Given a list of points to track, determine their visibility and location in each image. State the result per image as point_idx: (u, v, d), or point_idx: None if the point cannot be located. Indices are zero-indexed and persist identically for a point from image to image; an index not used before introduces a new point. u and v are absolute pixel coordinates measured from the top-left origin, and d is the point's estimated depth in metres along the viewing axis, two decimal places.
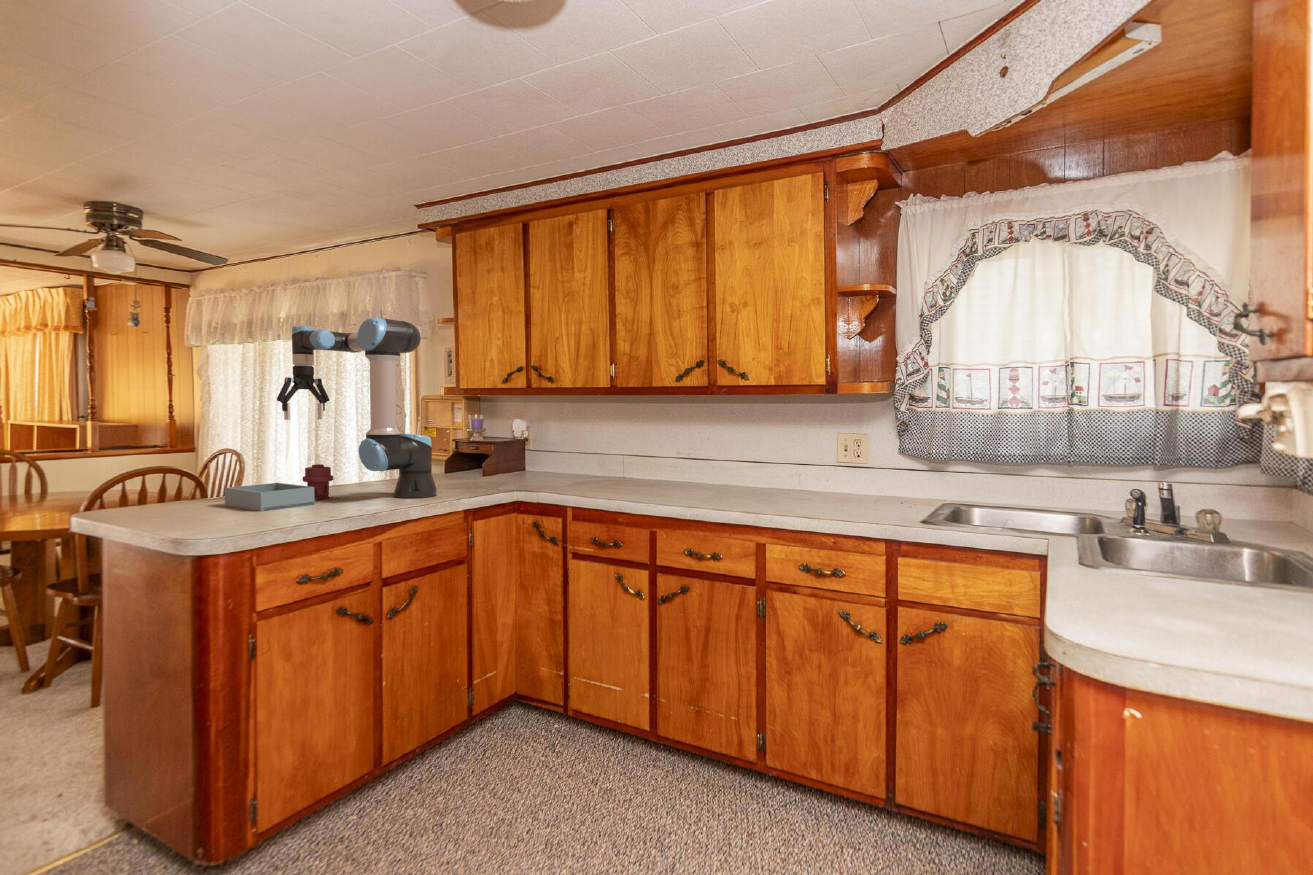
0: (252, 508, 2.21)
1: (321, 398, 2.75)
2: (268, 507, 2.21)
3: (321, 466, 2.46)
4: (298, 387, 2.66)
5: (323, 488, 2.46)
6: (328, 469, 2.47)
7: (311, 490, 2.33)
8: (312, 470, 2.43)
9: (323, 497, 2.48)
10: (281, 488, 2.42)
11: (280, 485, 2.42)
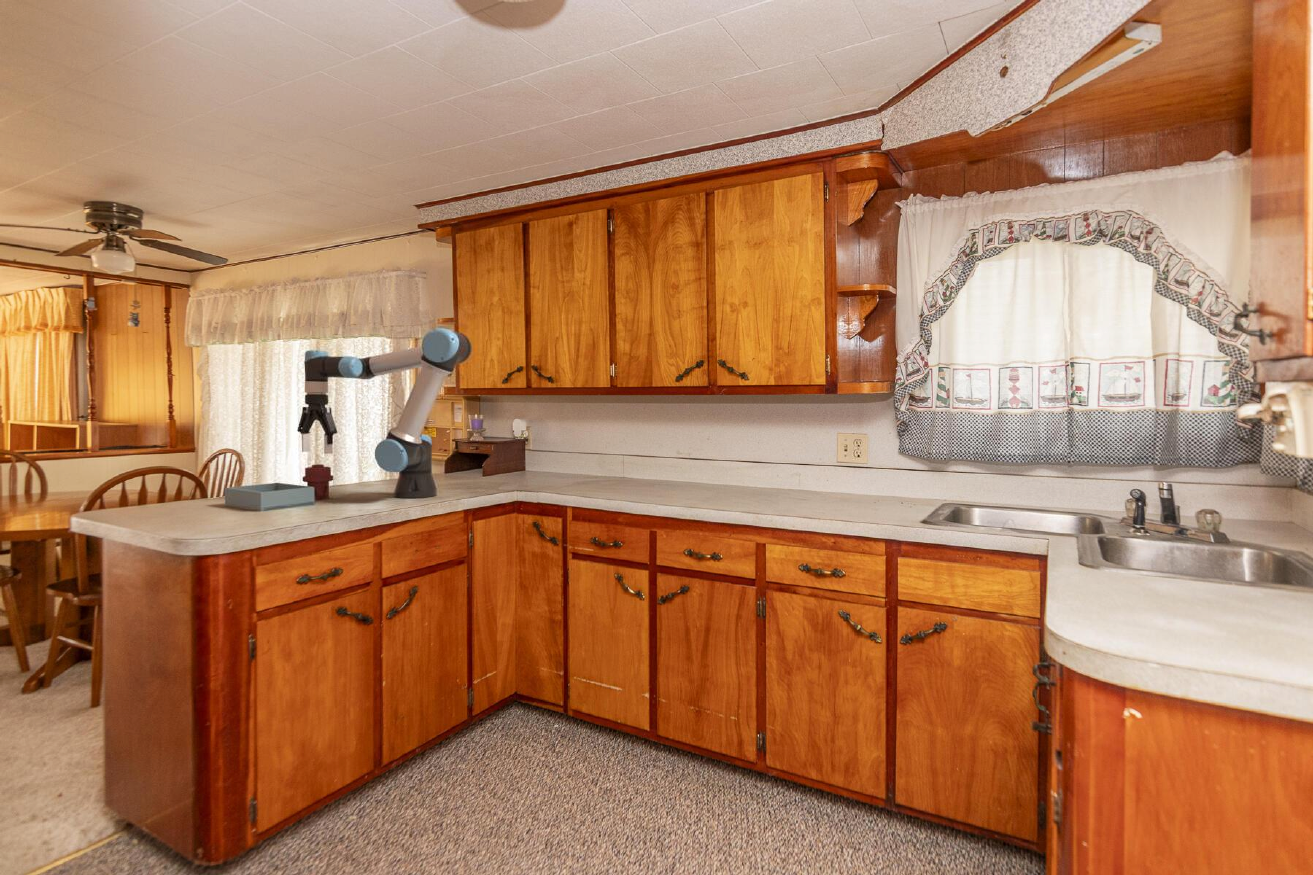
0: (252, 508, 2.21)
1: (324, 430, 2.42)
2: (268, 507, 2.21)
3: (321, 466, 2.46)
4: (307, 417, 2.46)
5: (323, 488, 2.46)
6: (328, 469, 2.47)
7: (311, 490, 2.33)
8: (312, 470, 2.43)
9: (323, 497, 2.48)
10: (281, 488, 2.42)
11: (280, 485, 2.42)
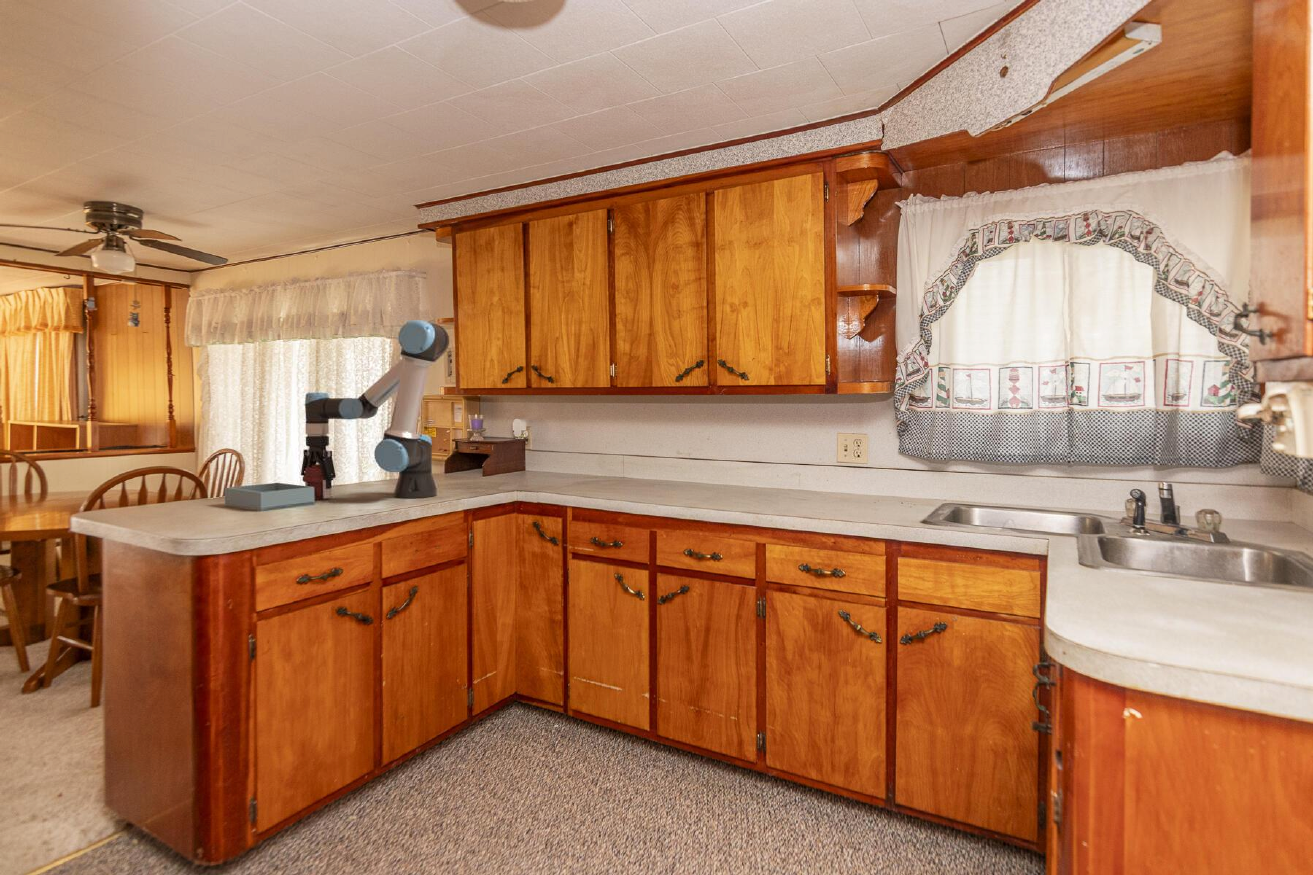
0: (252, 508, 2.21)
1: (323, 474, 2.43)
2: (268, 507, 2.21)
3: None
4: (308, 459, 2.47)
5: (322, 487, 2.46)
6: None
7: (311, 490, 2.33)
8: (312, 470, 2.43)
9: None
10: (281, 488, 2.42)
11: (280, 485, 2.42)
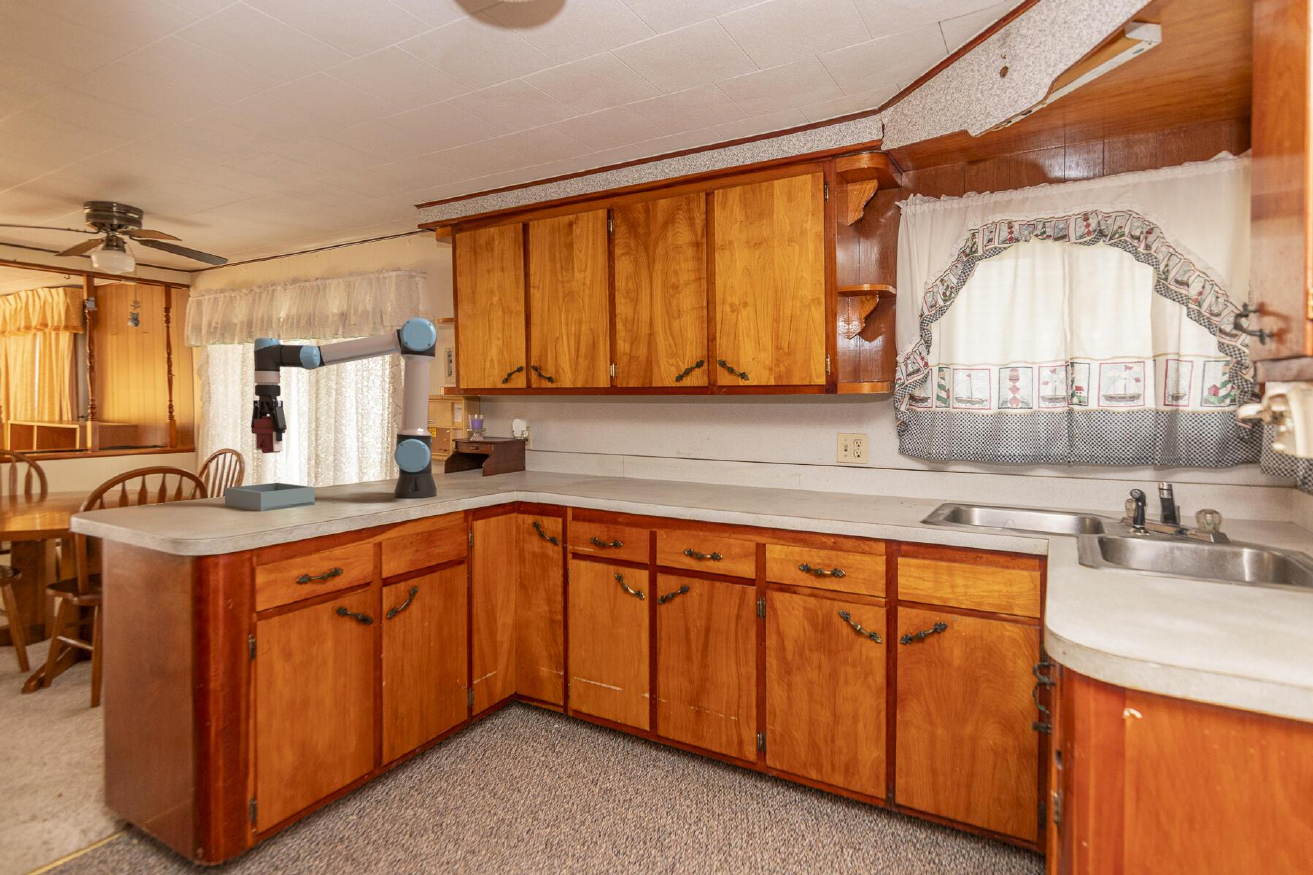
0: (252, 508, 2.21)
1: (273, 425, 2.27)
2: (268, 507, 2.21)
3: None
4: (258, 410, 2.30)
5: None
6: None
7: (311, 490, 2.33)
8: (261, 421, 2.26)
9: (274, 451, 2.31)
10: (281, 488, 2.42)
11: (280, 485, 2.42)
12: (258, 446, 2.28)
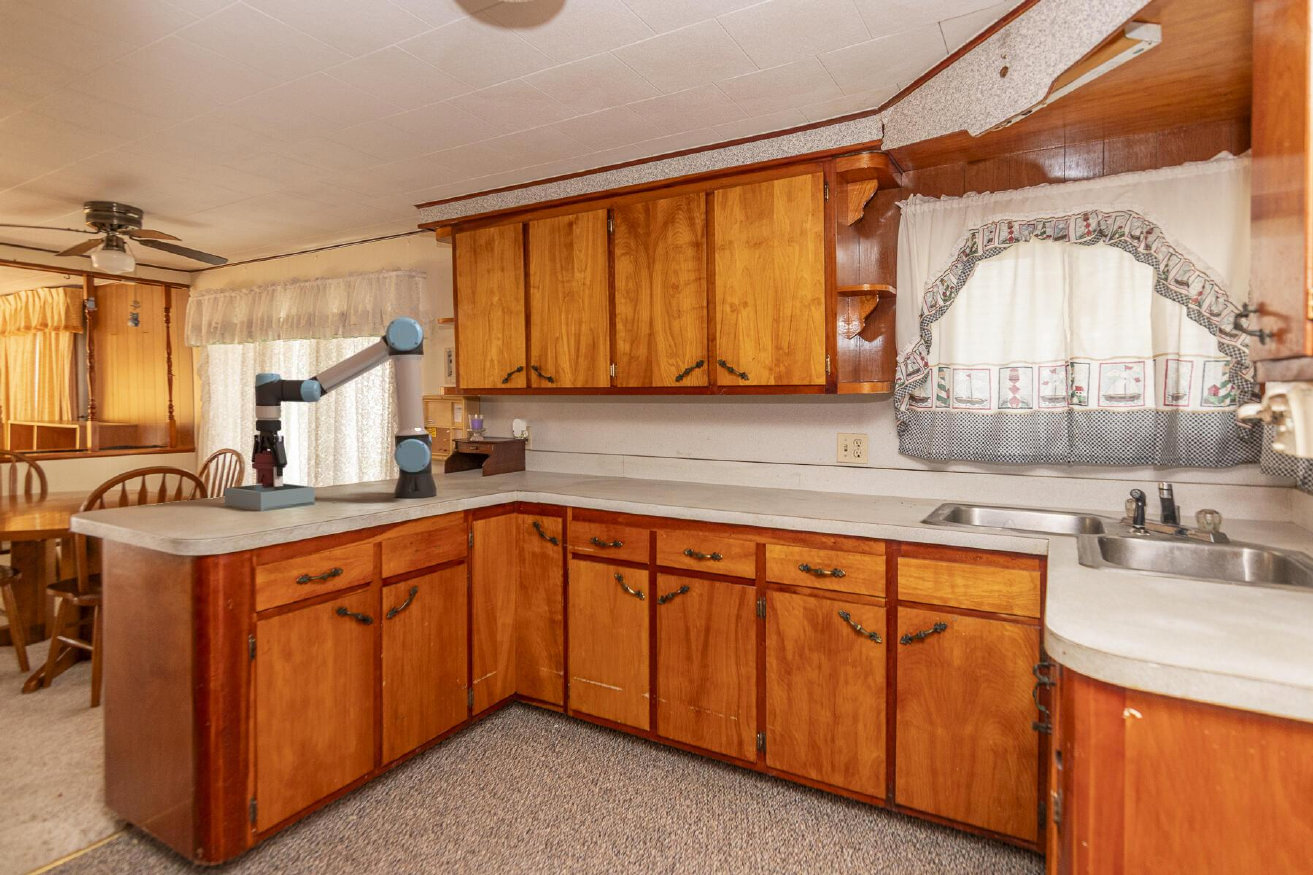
0: (252, 508, 2.21)
1: (274, 460, 2.27)
2: (268, 507, 2.21)
3: None
4: (259, 445, 2.31)
5: None
6: None
7: (311, 490, 2.33)
8: (262, 456, 2.27)
9: None
10: (281, 488, 2.42)
11: None
12: (259, 481, 2.29)
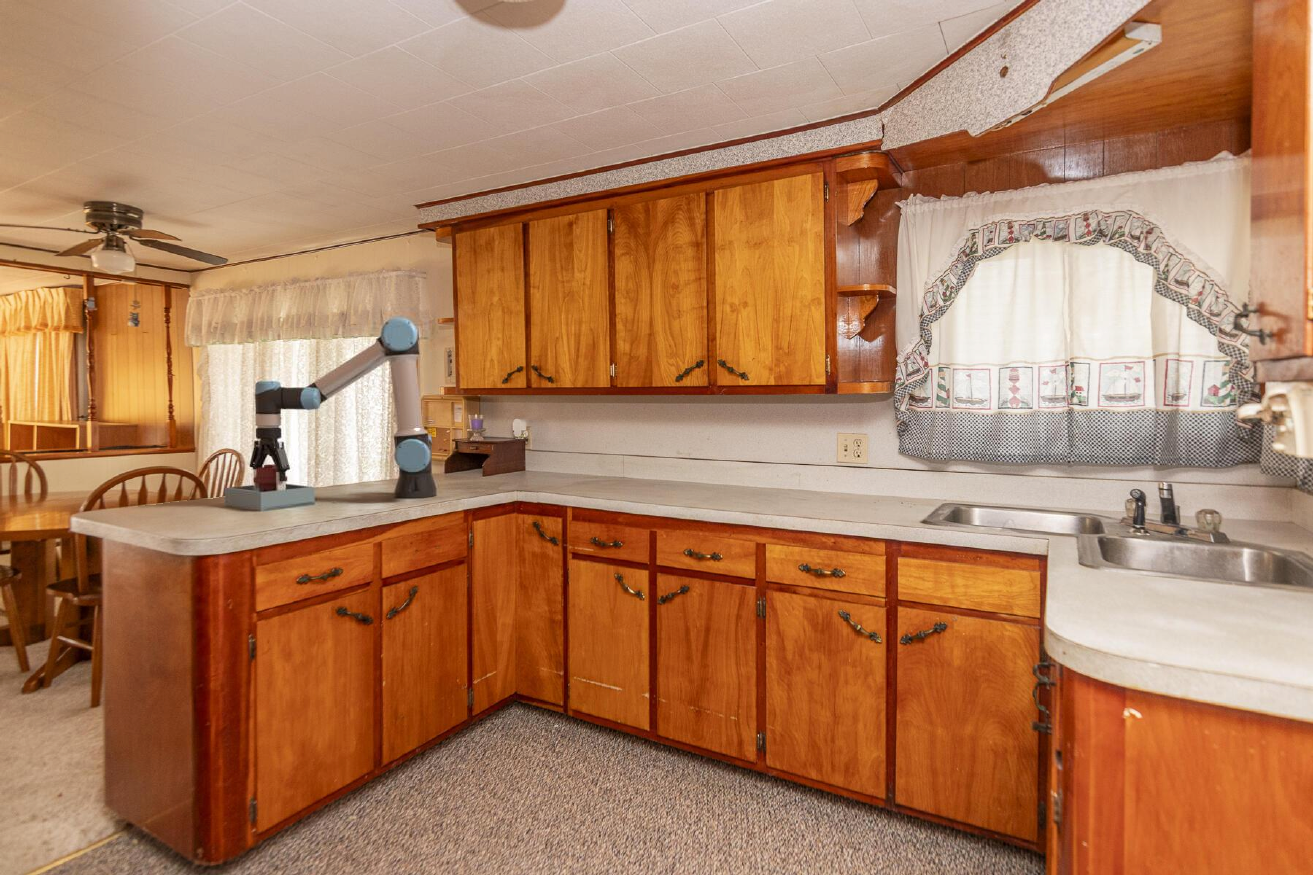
0: (252, 508, 2.21)
1: (276, 466, 2.27)
2: (268, 507, 2.21)
3: (274, 466, 2.30)
4: (258, 452, 2.31)
5: (275, 489, 2.30)
6: None
7: (311, 490, 2.33)
8: (263, 471, 2.27)
9: None
10: None
11: None
12: None
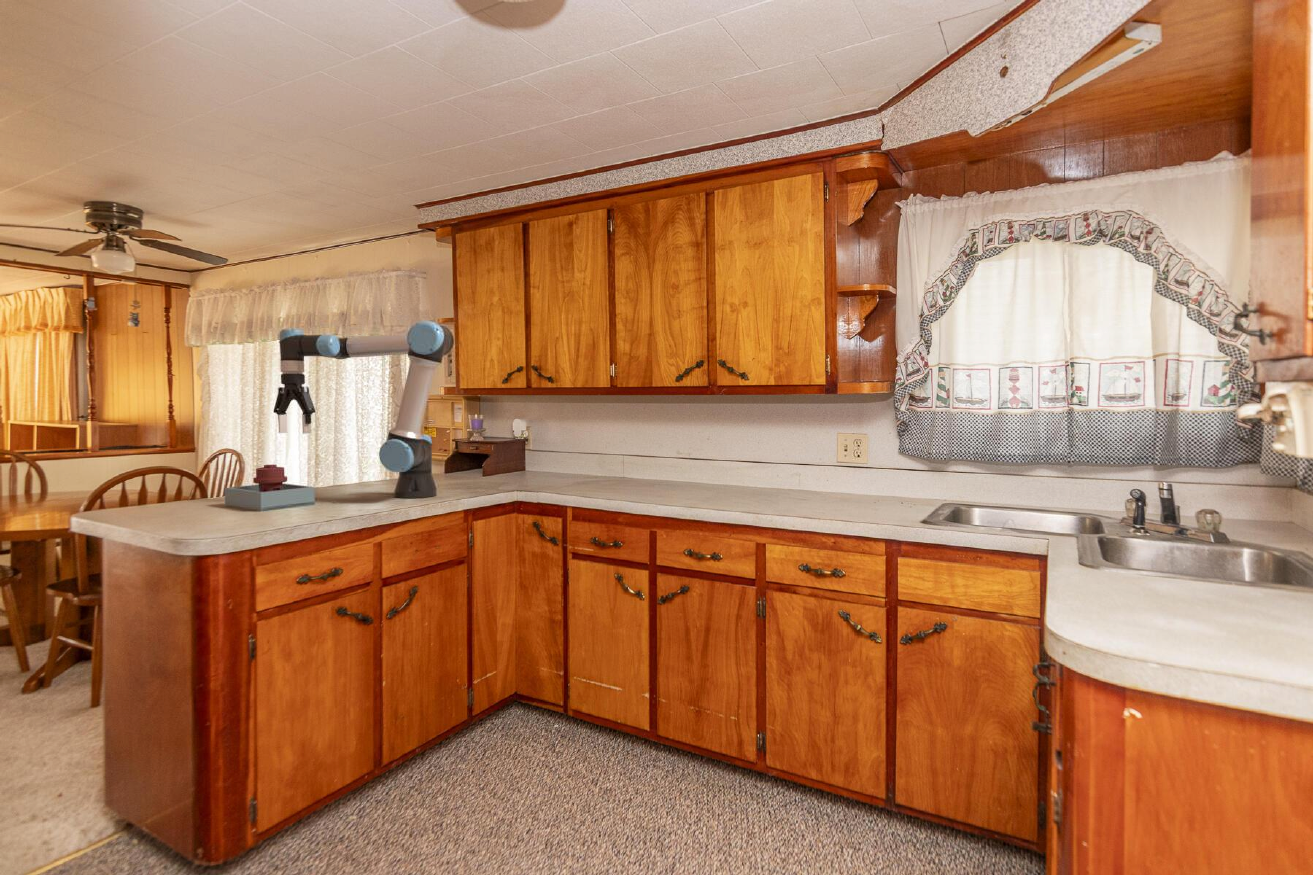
0: (252, 508, 2.21)
1: (302, 409, 2.39)
2: (268, 507, 2.21)
3: (273, 466, 2.30)
4: (283, 397, 2.43)
5: (275, 489, 2.30)
6: (281, 469, 2.31)
7: (311, 490, 2.33)
8: (263, 471, 2.27)
9: None
10: None
11: None
12: None
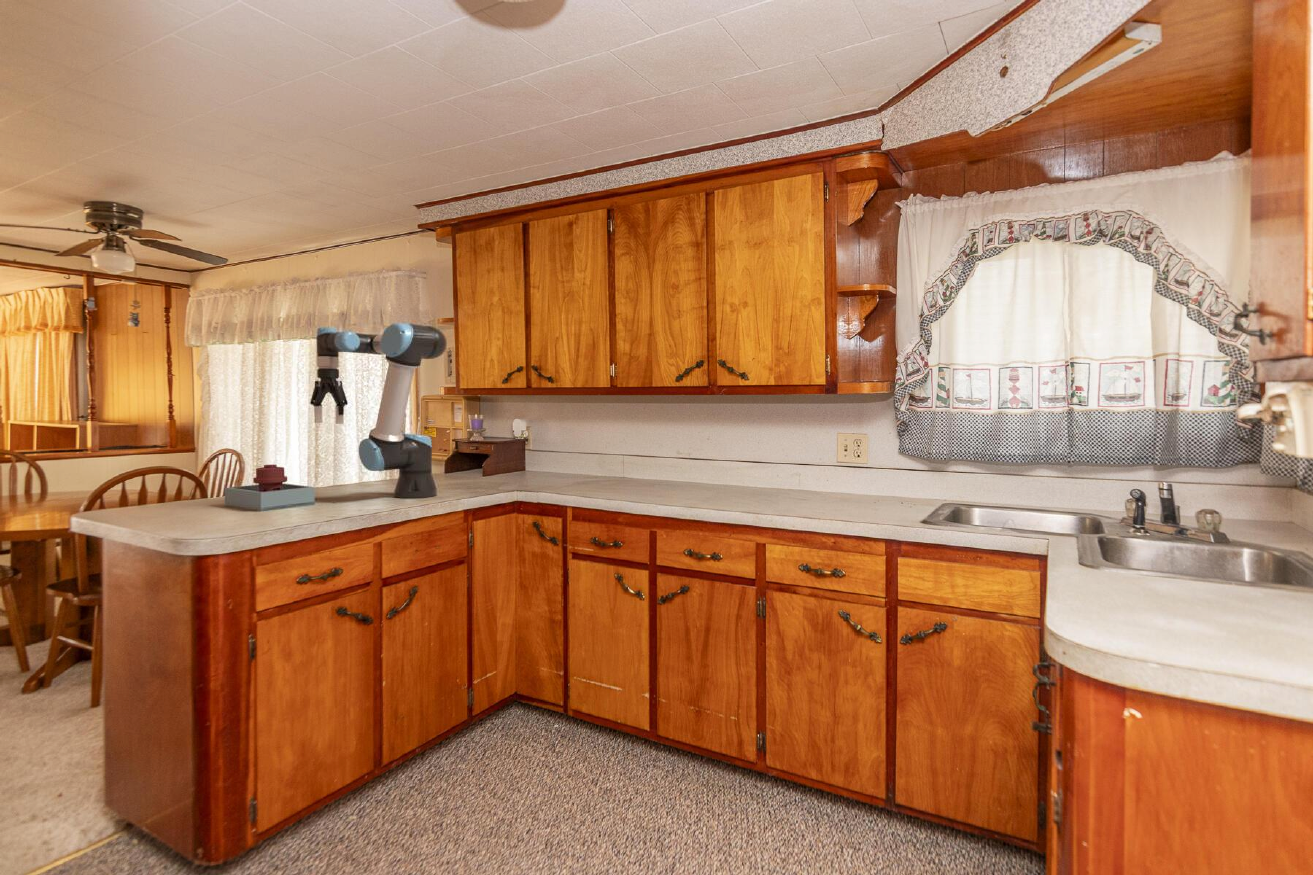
0: (252, 508, 2.21)
1: (336, 401, 2.59)
2: (268, 507, 2.21)
3: (273, 466, 2.30)
4: (319, 390, 2.64)
5: (275, 489, 2.30)
6: (281, 469, 2.31)
7: (311, 490, 2.33)
8: (263, 471, 2.27)
9: None
10: None
11: None
12: None
